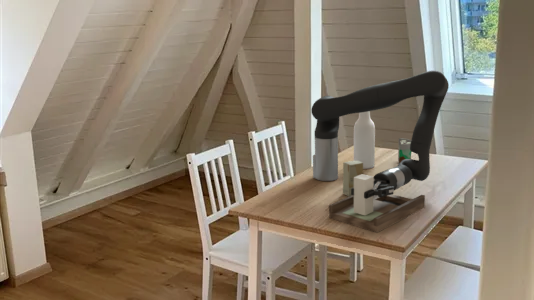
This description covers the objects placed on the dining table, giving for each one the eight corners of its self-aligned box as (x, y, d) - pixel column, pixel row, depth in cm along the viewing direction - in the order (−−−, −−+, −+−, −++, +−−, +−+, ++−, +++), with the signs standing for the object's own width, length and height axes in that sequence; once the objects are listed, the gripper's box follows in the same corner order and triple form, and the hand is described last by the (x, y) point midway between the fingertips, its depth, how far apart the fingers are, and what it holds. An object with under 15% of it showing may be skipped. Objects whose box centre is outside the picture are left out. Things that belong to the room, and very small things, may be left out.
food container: (413, 168, 238) (414, 145, 235) (398, 167, 239) (399, 144, 237) (412, 160, 250) (413, 138, 247) (398, 159, 251) (398, 137, 248)
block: (353, 212, 184) (353, 177, 181) (361, 208, 187) (362, 174, 184) (365, 215, 181) (365, 180, 178) (373, 211, 184) (373, 176, 181)
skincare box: (349, 197, 206) (349, 165, 203) (342, 193, 210) (342, 162, 207) (363, 193, 209) (363, 162, 206) (356, 190, 213) (356, 159, 210)
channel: (329, 217, 188) (329, 205, 186) (377, 195, 206) (378, 184, 205) (377, 232, 174) (377, 219, 173) (424, 207, 193) (424, 195, 192)
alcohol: (350, 167, 242) (350, 98, 234) (358, 162, 249) (358, 95, 241) (369, 170, 237) (370, 99, 229) (377, 164, 244) (378, 96, 237)
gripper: (371, 166, 196) (340, 178, 185) (407, 174, 186) (377, 187, 175) (371, 186, 198) (340, 200, 187) (406, 195, 188) (377, 210, 177)
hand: (358, 193), depth 181 cm, fingers closed on block, 4 cm apart
